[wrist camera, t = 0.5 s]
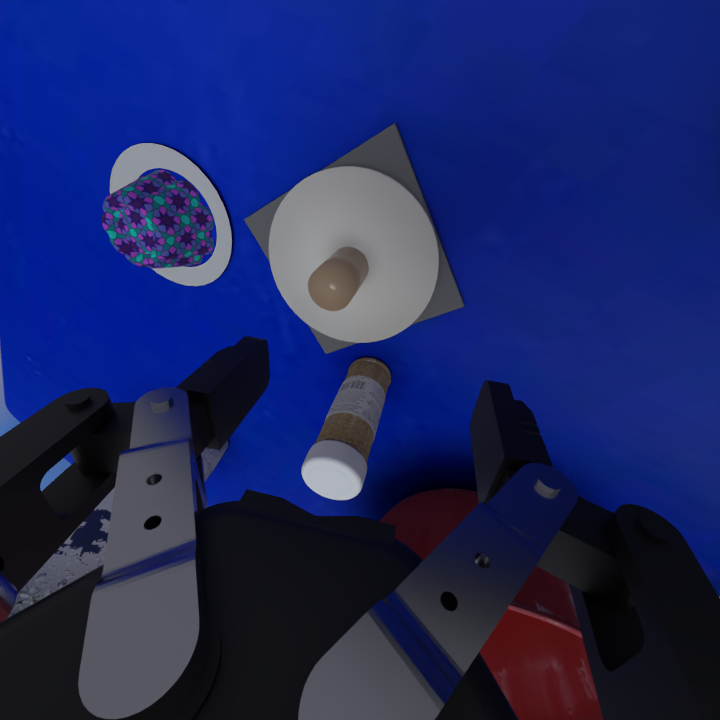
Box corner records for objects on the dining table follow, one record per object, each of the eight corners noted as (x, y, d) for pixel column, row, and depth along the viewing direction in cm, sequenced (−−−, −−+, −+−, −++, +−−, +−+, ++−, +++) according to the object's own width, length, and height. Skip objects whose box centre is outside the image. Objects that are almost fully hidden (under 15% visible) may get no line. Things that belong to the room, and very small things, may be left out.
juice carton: (239, 445, 47) (46, 715, 25) (194, 458, 51) (-3, 695, 29) (196, 398, 43) (-72, 661, 21) (152, 417, 48) (-104, 648, 26)
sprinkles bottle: (349, 388, 36) (302, 495, 25) (348, 352, 34) (295, 454, 23) (391, 394, 35) (361, 508, 24) (393, 358, 33) (361, 467, 22)
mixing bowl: (575, 429, 32) (650, 615, 20) (593, 586, 44) (646, 761, 32) (323, 453, 43) (268, 581, 31) (394, 573, 56) (375, 699, 43)
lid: (394, 123, 22) (375, 118, 17) (464, 306, 28) (465, 343, 23) (244, 219, 28) (197, 236, 23) (325, 353, 34) (302, 391, 29)
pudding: (165, 293, 36) (125, 314, 31) (91, 168, 30) (30, 173, 26) (257, 270, 31) (226, 290, 27) (192, 120, 26) (139, 116, 22)
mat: (396, 123, 22) (394, 123, 22) (464, 303, 28) (464, 306, 28) (247, 218, 29) (244, 219, 28) (327, 350, 34) (325, 353, 34)
